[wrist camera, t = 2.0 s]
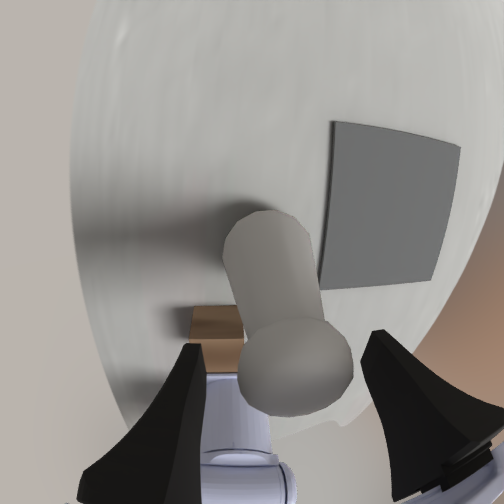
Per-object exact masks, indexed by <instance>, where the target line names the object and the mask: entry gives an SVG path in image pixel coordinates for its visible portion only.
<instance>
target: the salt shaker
mask: <svg viewBox="0 0 504 504" xmlns="http://www.w3.org/2000/svg"><path fill="white" fill-rule="evenodd" d="M222 260H223V263H224V266H225V270H226V273H227V276H228V279H229V282H230V285H231V289H232V292H233V295H234V298H235V301H236V304H237V307H238V310H239V314H240V317H241V320H242V323H243V326H244V329H245V332H246V335H247V338H248V341H247V342H246V343H245V344H244V346H243V348H242V350H241V354H240V359H239V363H238V372H237V381H238V385H239V389H240V393H241V394H242V396H243V397H244V399H245V400H246V402H247V403H248V405H250V406H252V407H253V408H255V409H257V410H259V411H261V412H263V413H265V414H268V415H270V416H278V417H295V416H302V415H308V414H311V413H313V412H316V411H319V410H321V409H324V408H326V407H328V406H329V405H331V404H332V403H334V402H335V401H336V400H338V399H339V398H341V396H342V395H343V393H344V392H345V390H346V389H347V387H348V386H349V384H350V382H351V381H352V379H353V359H352V353H351V349H350V347H349V345H348V343H347V341H346V339H345V337H344V336H343V335H342V334H341V333H340V332H338V331H337V330H336V329H335V328H334V327H333V326H332V325H331V324H330V323H329V322H328V321H325V319H324V313H323V307H322V300H321V294H320V288H319V283H318V277H317V271H316V266H315V261H314V255H313V250H312V245H311V240H310V235H309V233H308V232H307V230H306V229H305V228H304V227H303V226H302V225H301V224H300V222H299V221H298V220H297V219H296V218H295V217H293V216H290V215H288V214H285V213H283V212H280V211H277V210H268V211H256V212H254V213H252V214H250V215H248V216H246V217H244V218H242V219H241V220H239V221H237V222H236V224H235V225H234V227H233V228H232V230H231V231H230V233H229V234H228V236H227V237H226V239H225V243H224V250H223V256H222Z"/></svg>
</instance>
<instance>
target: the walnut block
mask: <svg viewBox="0 0 504 504" xmlns="http://www.w3.org/2000/svg"><path fill="white" fill-rule="evenodd" d="M189 343H201V346H202V352H203V357H204V362H205V367H206V372H238V363H239V359H240V354H241V350H242V348H243V346H244V330H243V323H242V320H241V317H240V314H239V310H238V307H237V305H228V306H194V311H193V317H192V322H191V328H190V335H189Z"/></svg>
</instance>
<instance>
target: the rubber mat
mask: <svg viewBox="0 0 504 504" xmlns="http://www.w3.org/2000/svg"><path fill="white" fill-rule="evenodd" d="M460 149H461V147H459V146H456V145H453V144H449V143H446V142H442V141H438V140H434V139H430V138H426V137H422V136H418V135H414V134H409V133H404V132H399V131H394V130H389V129H384V128H378V127H372V126H365V125H358V124H351V123H343V122H334V127H333V148H332V164H331V178H330V190H329V201H328V211H327V220H326V229H325V238H324V246H323V254H322V261H321V268H320V275H319V282H318V283H319V288H320V290H330V289H344V288H357V287H370V286H381V285H392V284H402V283H412V282H421V281H430V280H431V278H432V275H433V272H434V269H435V266H436V263H437V260H438V257H439V254H440V250H441V247H442V243H443V239H444V236H445V232H446V228H447V224H448V220H449V216H450V211H451V206H452V202H453V196H454V191H455V185H456V179H457V173H458V166H459V158H460Z"/></svg>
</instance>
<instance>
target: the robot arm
mask: <svg viewBox="0 0 504 504" xmlns="http://www.w3.org/2000/svg"><path fill="white" fill-rule="evenodd" d="M360 363H361V367H362V371H363V374H364V378H365V382H366V384H367V387H368V389H369V392H370V394H371V397H372V399H373V402H374V404H375V407H376V409H377V412H378V414H379V417H380V419H381V423H382V426H383V429H384V434H385V438H386V442H387V448H388V453H389V459H390V468H391V482H392V498H393V501H394V502H396V501H399V500H401V499H404V498H406V497H408V496H411V495H413V494H415V493H417V492H419V491H421V493H422V494H421V495H419V496H417V497H415V498H413V499H411V500H408V501H406V502H404V503H401V504H491V503H492V502H493V501H494V500H495V499H496V498H497V497H498V496H499V495H500V494H501V493H502V492H503V491H504V442H502V443H501V444H500V445H499V446H497V447H496V448H495V449H494V450H492V451H490V449H489V448H490V447H491V446H492V443H491V441H490V440H491V439H492V438H494V437H495V436H496V435H497V434H498V433H499V432H501V431H502V430H503V429H504V408H502V407H499V406H495V405H492V404H489V403H486V402H483V401H481V400H479V399H476V398H474V397H472V396H470V395H468V394H466V393H464V392H463V391H461V390H459V389H457V388H456V387H454V386H452V385H450V384H449V383H448V382H446V381H444V380H443V379H442V378H440V377H439V376H437V375H436V374H435V373H434V372H432V371H431V370H429V368H427V367H426V366H425V365H424V364H423V363H421V362H420V361H419V360H418V359H417V358H415V357H414V356H413V355H412V354H411V353H410V352H409V351H408V350H407V349H405V348H404V347H403V346H402V345H401V344H400V343H399V342H398V341H397V340H396V339H394V338H393V337H392V336H391V335H390V334H389V333H388V332H386V331H385V330H384V329H382V330H376V331H372V333H371V335H370V338H369V341H368V343H367V346H366V348H365V351H364V353H363V356H362V358H361V361H360ZM296 500H297V486H296V480H295V476H294V474H293V472H292V470H291V468H290V467H288V466H287V464H285V463H284V462H279V459H278V455H277V454H272V446H271V437H270V428H269V420H268V414H265V413H263V412H261V411H259V410H257V409H255V408H253V407H252V406H250V405H248V403H247V402H246V400H245V399H244V397H243V396H242V394H241V393H240V389H239V385H238V381H237V373H229V374H207V372H206V367H205V362H204V357H203V352H202V346H201V343H186V344H184V345H183V348H182V350H181V352H180V355H179V357H178V359H177V361H176V363H175V365H174V367H173V369H172V371H171V372H170V374H169V376H168V378H167V379H166V381H165V383H164V385H163V386H162V388H161V390H160V391H159V393H158V394H157V396H156V397H155V399H154V400H153V402H152V403H151V405H150V406H149V407H148V409H147V410H146V412H145V413H144V414H143V415H142V417H141V418H140V419H139V420H138V422H137V423H136V424H135V425H134V426H133V427H132V429H131V430H130V431H129V432H128V433H127V434H126V435H125V436H124V438H122V439H121V440H120V442H118V443H117V444H116V445H115V446H114V447H113V448H112V449H111V450H110V451H109V452H108V453H106V454H105V455H104V456H103V457H102V458H101V459H99V460H98V461H96V462H95V463H94V464H92V465H91V466H90V467H88V468H87V469H86V470H84V471H83V474H82V477H81V479H80V483H79V488H78V493H77V501H78V502H80V503H83V504H296ZM65 504H68V503H65Z"/></svg>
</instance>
